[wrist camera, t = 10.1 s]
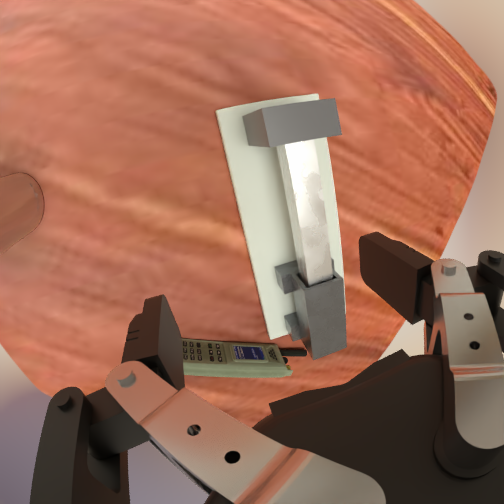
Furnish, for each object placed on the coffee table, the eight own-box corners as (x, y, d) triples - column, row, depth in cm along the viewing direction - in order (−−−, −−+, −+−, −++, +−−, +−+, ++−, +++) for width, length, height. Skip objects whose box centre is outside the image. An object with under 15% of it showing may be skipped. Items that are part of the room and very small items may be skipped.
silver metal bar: (303, 299, 42) (312, 311, 39) (271, 122, 32) (280, 120, 29) (324, 291, 42) (335, 303, 39) (298, 118, 33) (309, 116, 30)
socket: (248, 145, 37) (270, 147, 28) (242, 116, 35) (261, 108, 26) (305, 134, 38) (341, 134, 29) (300, 106, 36) (334, 98, 27)
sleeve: (286, 329, 49) (305, 363, 41) (274, 266, 44) (294, 295, 36) (330, 314, 49) (354, 344, 42) (323, 251, 45) (352, 275, 37)
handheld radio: (166, 333, 46) (306, 341, 53) (164, 348, 47) (301, 354, 54) (165, 361, 40) (320, 365, 47) (164, 376, 41) (313, 378, 48)
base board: (268, 334, 50) (270, 339, 49) (215, 111, 36) (216, 110, 34) (342, 309, 52) (345, 313, 50) (313, 94, 37) (317, 93, 36)
